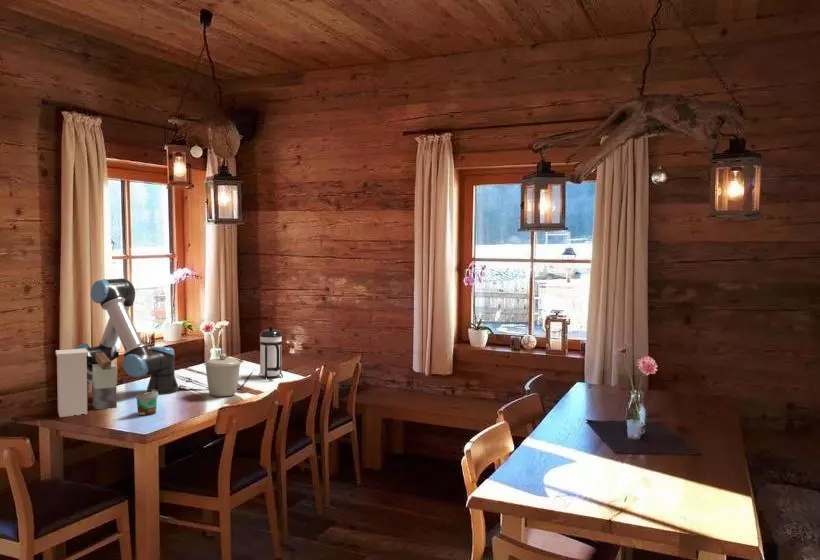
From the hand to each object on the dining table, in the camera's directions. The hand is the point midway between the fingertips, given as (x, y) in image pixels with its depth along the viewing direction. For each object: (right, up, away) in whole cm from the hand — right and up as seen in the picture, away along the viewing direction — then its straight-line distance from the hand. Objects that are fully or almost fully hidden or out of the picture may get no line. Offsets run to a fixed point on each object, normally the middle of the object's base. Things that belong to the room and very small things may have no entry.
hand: (98, 349), depth 323 cm
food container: (+34, -27, -23) cm, 49 cm away
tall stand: (-1, -26, -23) cm, 35 cm away
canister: (+56, -25, +16) cm, 63 cm away
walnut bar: (+7, -6, -10) cm, 13 cm away
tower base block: (+8, -25, -11) cm, 29 cm away
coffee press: (+72, -23, +61) cm, 97 cm away
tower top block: (+8, -16, -12) cm, 21 cm away
